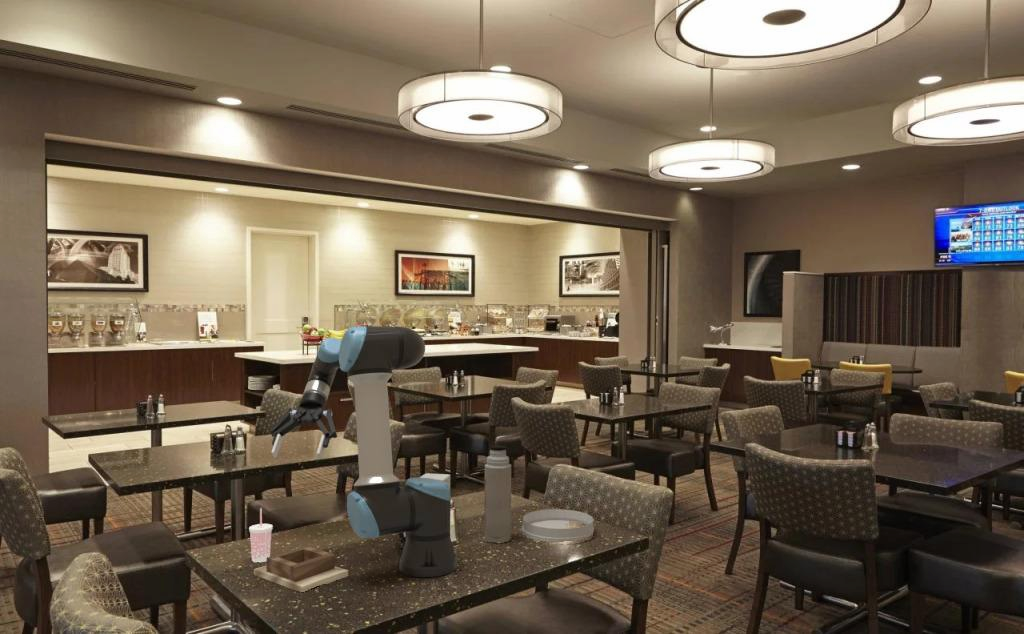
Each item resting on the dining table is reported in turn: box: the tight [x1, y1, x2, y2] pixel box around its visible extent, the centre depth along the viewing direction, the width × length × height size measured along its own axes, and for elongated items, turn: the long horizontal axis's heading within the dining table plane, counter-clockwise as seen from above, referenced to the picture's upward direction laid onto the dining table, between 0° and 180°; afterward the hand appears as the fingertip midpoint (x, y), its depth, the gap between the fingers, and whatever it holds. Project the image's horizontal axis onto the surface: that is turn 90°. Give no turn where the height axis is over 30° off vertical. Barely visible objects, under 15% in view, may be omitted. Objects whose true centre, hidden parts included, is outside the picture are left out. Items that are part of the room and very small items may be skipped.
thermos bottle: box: [484, 444, 512, 543], centre depth 211 cm, size 8×8×28 cm
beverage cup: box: [248, 507, 274, 563], centre depth 193 cm, size 6×6×14 cm
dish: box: [521, 508, 595, 542], centre depth 217 cm, size 22×22×5 cm
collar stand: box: [253, 545, 349, 593], centre depth 181 cm, size 20×14×5 cm
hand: (296, 455), depth 206 cm, fingers open, 13 cm apart
